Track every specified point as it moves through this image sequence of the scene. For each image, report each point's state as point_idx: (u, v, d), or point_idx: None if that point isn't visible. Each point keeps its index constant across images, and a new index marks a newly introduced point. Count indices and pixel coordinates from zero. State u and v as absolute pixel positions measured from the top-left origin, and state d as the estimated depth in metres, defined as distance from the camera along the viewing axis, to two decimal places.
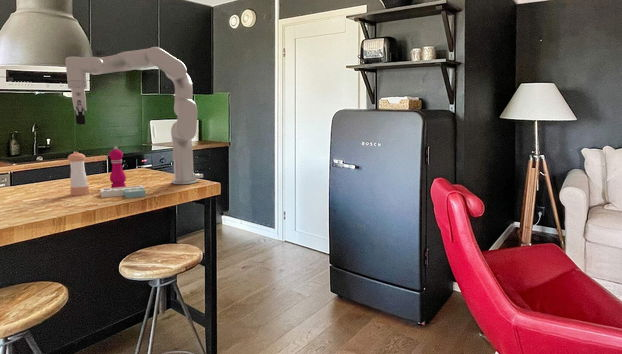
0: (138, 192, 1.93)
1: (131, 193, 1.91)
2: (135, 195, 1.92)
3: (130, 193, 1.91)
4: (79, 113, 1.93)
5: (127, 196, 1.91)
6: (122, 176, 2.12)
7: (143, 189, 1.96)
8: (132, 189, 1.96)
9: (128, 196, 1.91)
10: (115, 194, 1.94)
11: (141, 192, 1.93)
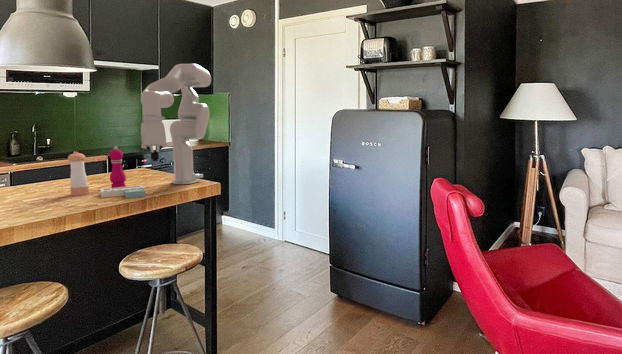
0: (138, 192, 1.93)
1: (131, 193, 1.91)
2: (135, 195, 1.92)
3: (130, 193, 1.91)
4: None
5: (127, 196, 1.91)
6: (122, 176, 2.12)
7: (143, 189, 1.96)
8: (132, 189, 1.96)
9: (128, 196, 1.91)
10: (115, 194, 1.94)
11: (141, 192, 1.93)
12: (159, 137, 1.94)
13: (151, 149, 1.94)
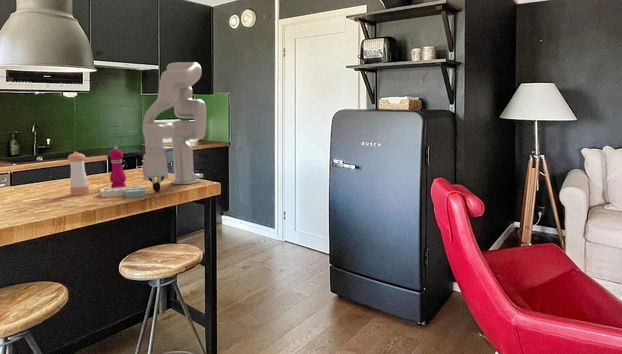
0: (138, 192, 1.93)
1: (131, 193, 1.91)
2: (135, 195, 1.92)
3: (130, 193, 1.91)
4: None
5: (127, 196, 1.91)
6: (122, 176, 2.12)
7: (143, 189, 1.96)
8: (132, 189, 1.96)
9: (128, 196, 1.91)
10: (115, 194, 1.94)
11: (141, 192, 1.93)
12: (161, 169, 1.96)
13: (153, 180, 1.96)
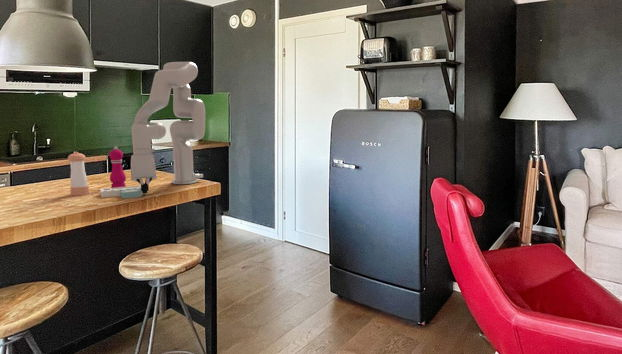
0: (135, 192, 1.92)
1: (128, 193, 1.90)
2: (132, 195, 1.91)
3: (127, 193, 1.90)
4: None
5: (124, 196, 1.90)
6: (122, 176, 2.12)
7: None
8: (129, 189, 1.96)
9: (125, 196, 1.90)
10: (115, 194, 1.94)
11: (138, 192, 1.92)
12: (149, 169, 1.94)
13: (141, 181, 1.94)
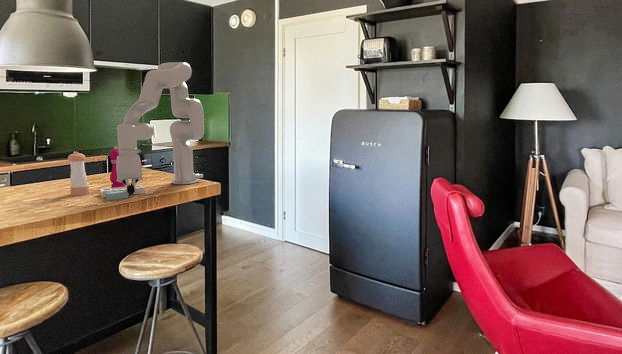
0: (120, 194, 1.89)
1: (113, 195, 1.88)
2: (117, 197, 1.89)
3: (112, 195, 1.87)
4: None
5: (109, 198, 1.87)
6: None
7: (126, 191, 1.93)
8: (114, 191, 1.93)
9: (110, 198, 1.87)
10: None
11: (123, 194, 1.90)
12: (135, 170, 1.91)
13: (127, 183, 1.91)
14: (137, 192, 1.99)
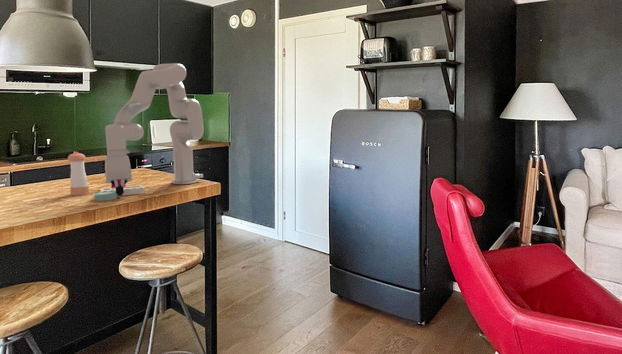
0: (109, 195, 1.87)
1: (101, 196, 1.85)
2: (106, 198, 1.86)
3: (100, 196, 1.85)
4: None
5: (97, 199, 1.85)
6: None
7: (114, 192, 1.91)
8: (103, 192, 1.91)
9: (98, 199, 1.85)
10: None
11: (112, 195, 1.87)
12: (124, 171, 1.89)
13: (115, 184, 1.89)
14: (137, 192, 1.99)
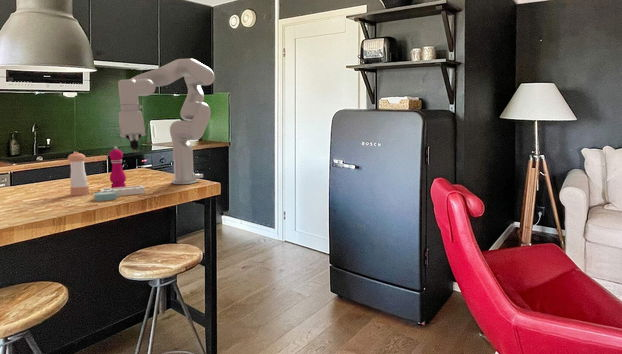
0: (109, 195, 1.87)
1: (101, 196, 1.85)
2: (105, 198, 1.86)
3: (100, 196, 1.85)
4: None
5: (97, 199, 1.85)
6: (122, 176, 2.12)
7: (114, 192, 1.91)
8: (103, 192, 1.91)
9: (98, 199, 1.85)
10: None
11: (112, 195, 1.87)
12: (137, 125, 1.95)
13: (130, 138, 1.95)
14: (137, 192, 1.99)
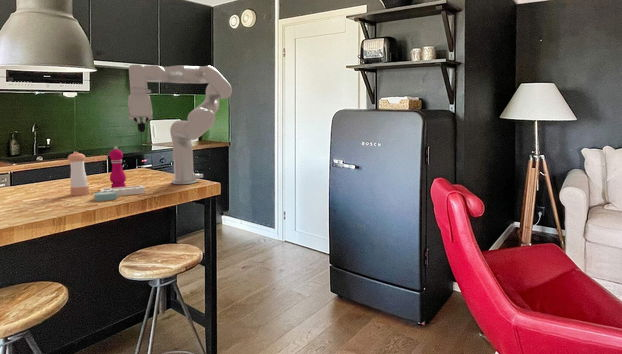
0: (109, 195, 1.87)
1: (101, 196, 1.85)
2: (105, 198, 1.86)
3: (100, 196, 1.85)
4: None
5: (97, 199, 1.85)
6: (122, 176, 2.12)
7: (114, 192, 1.91)
8: (103, 192, 1.91)
9: (98, 199, 1.85)
10: None
11: (112, 195, 1.87)
12: (145, 109, 2.04)
13: (138, 120, 2.04)
14: (137, 192, 1.99)
